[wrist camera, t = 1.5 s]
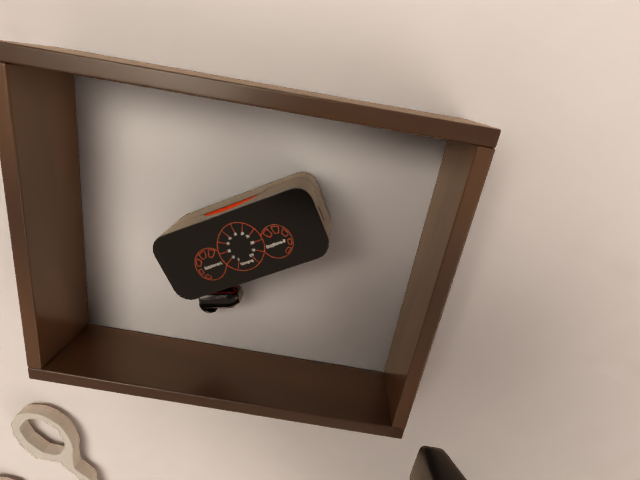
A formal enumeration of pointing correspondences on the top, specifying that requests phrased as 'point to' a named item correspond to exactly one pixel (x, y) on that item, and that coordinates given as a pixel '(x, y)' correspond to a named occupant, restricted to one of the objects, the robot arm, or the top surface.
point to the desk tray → (188, 356)
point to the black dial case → (244, 240)
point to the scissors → (49, 451)
